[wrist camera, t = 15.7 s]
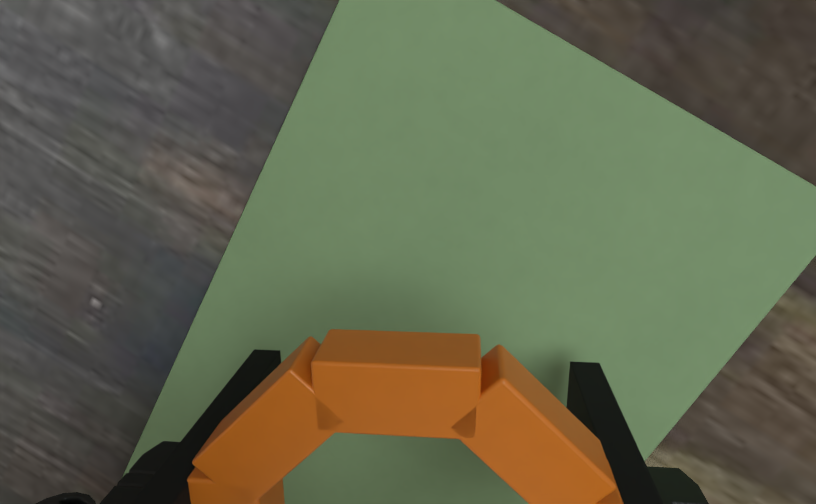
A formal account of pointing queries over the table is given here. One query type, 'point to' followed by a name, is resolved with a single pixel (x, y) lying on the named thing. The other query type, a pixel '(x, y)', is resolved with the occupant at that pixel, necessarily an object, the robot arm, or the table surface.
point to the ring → (403, 417)
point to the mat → (490, 235)
